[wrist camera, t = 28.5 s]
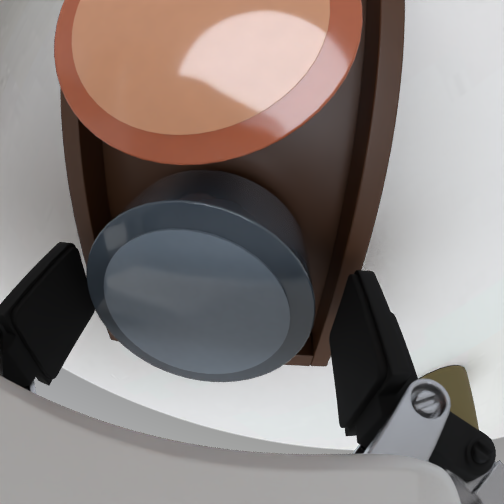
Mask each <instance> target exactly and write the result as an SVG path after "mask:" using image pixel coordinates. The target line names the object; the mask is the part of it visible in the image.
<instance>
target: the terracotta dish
mask: <svg viewBox="0 0 504 504" xmlns="http://www.w3.org/2000/svg"><path fill="white" fill-rule="evenodd" d="M362 25H363V16H362V2H361V0H64V3H63V5H62V8H61V11H60V14H59V18H58V21H57V26H56V32H55V40H54V58H55V66H56V72H57V76H58V80H59V84H60V87H61V89H62V91H63V94H64V96H65V98H66V101H67V102H68V104H69V105H70V107H71V109H72V110H73V112H74V114H75V115H76V116H77V117H78V118H79V120H80V121H81V122H82V123H83V124H84V126H85V127H87V128H88V129H89V130H90V131H91V132H92V133H93V134H94V135H95V136H97V137H98V138H99V139H101V140H102V141H104V142H105V143H107V144H108V145H110V146H112V147H114V148H116V149H118V150H120V151H122V152H124V153H126V154H128V155H131V156H134V157H137V158H140V159H143V160H147V161H152V162H157V163H162V164H173V165H203V164H210V163H217V162H224V161H227V160H231V159H235V158H239V157H243V156H246V155H248V154H251V153H254V152H256V151H259V150H261V149H264V148H266V147H268V146H270V145H272V144H274V143H276V142H278V141H280V140H282V139H284V138H285V137H287V136H288V135H290V134H291V133H293V132H294V131H296V130H297V129H299V128H300V127H302V126H303V125H304V124H306V123H307V122H308V121H309V120H310V119H311V118H313V117H314V116H315V115H316V114H317V113H318V112H320V110H321V109H322V108H323V107H324V106H325V105H326V104H327V103H328V102H329V100H330V99H331V98H332V97H333V96H334V95H335V93H336V92H337V90H338V89H339V87H340V86H341V85H342V83H343V82H344V80H345V79H346V77H347V75H348V73H349V71H350V69H351V67H352V65H353V62H354V60H355V57H356V54H357V51H358V47H359V44H360V40H361V33H362Z"/></svg>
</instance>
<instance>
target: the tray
mask: <svg viewBox="0 0 504 504" xmlns="http://www.w3.org/2000/svg"><path fill="white" fill-rule="evenodd" d="M361 2H362V16H363V25H362V33H361V40H360V44H359V47H358V51H357V54H356V57H355V60H354V62H353V65H352V67H351V69H350V71H349V73H348V75H347V77H346V79H345V80H344V82H343V83H342V85H341V86H340V87H339V89H338V90H337V92H336V93H335V95H334V96H333V97H332V98H331V99H330V100H329V102H328V103H327V104H326V105H325V106H324V107H323V108H322V109H321V110H320V112H318V113H317V114H316V115H315V116H314V117H313V118H311V119H310V120H309V121H308V122H307V123H306V124H304V125H303V126H302V127H300V128H299V129H297V130H296V131H294V132H293V133H291V134H290V135H288V136H287V137H285V138H284V139H282V140H280V141H278V142H276V143H274V144H272V145H270V146H268V147H266V148H264V149H261V150H259V151H256V152H254V153H251V154H248V155H246V156H243V157H239V158H235V159H231V160H227V161H224V162H217V163H210V164H203V165H173V164H162V163H157V162H152V161H147V160H143V159H140V158H137V157H134V156H131V155H128V154H126V153H124V152H122V151H120V150H118V149H116V148H114V147H112V146H110V145H108V144H107V143H105V142H104V141H102V140H101V139H99V138H98V137H97V136H95V135H94V134H93V133H92V132H91V131H90V130H89V129H88V128H87V127H85V126H84V124H83V123H82V122H81V121H80V120H79V118H78V117H77V116H76V115H75V114H74V112H73V110H72V109H71V107H70V105H69V104H68V102H67V101H66V98H65V96H64V94H63V91H62V89H61V119H62V133H63V145H64V154H65V163H66V170H67V177H68V184H69V190H70V196H71V201H72V207H73V212H74V217H75V222H76V226H77V231H78V235H79V239H80V244H81V248H82V252H83V255H84V259H85V263H86V266H87V262H88V257H89V253H90V250H91V248H92V245H93V243H94V241H95V239H96V238H97V236H98V234H99V233H100V232H101V231H102V229H103V228H104V227H105V226H106V225H107V224H108V223H109V222H110V221H111V220H112V219H113V218H114V217H115V216H116V215H117V214H118V213H119V212H120V211H121V210H122V209H123V208H124V207H126V206H127V205H128V204H129V203H130V202H131V201H132V200H133V199H134V198H135V197H137V196H138V195H139V194H140V193H141V192H142V191H143V190H144V189H146V188H147V187H149V186H150V185H151V184H153V183H154V182H156V181H158V180H160V179H162V178H164V177H166V176H169V175H172V174H175V173H179V172H184V171H190V170H215V171H222V172H227V173H231V174H235V175H238V176H240V177H243V178H246V179H248V180H251V181H252V182H254V183H256V184H258V185H260V186H262V187H263V188H265V189H266V190H268V191H269V192H270V193H272V194H273V195H274V196H276V197H277V198H278V199H279V200H280V201H281V202H282V203H283V204H284V205H285V206H286V207H287V209H288V210H289V211H290V212H291V214H292V215H293V216H294V218H295V219H296V221H297V223H298V225H299V227H300V228H301V231H302V233H303V236H304V238H305V242H306V246H307V251H308V257H309V263H310V269H311V275H312V282H313V288H314V295H315V319H314V325H313V327H312V330H311V333H310V335H309V337H308V339H307V341H306V342H305V344H304V346H303V347H302V348H301V349H300V351H299V352H298V353H297V354H296V355H295V356H294V357H293V358H292V359H291V360H289V361H288V362H287V363H285V364H284V365H300V366H310V365H311V366H327V363H328V361H329V359H330V356H331V351H330V344H329V336H330V331H331V329H332V326H333V323H334V320H335V317H336V314H337V311H338V308H339V305H340V301H341V298H342V295H343V292H344V289H345V285H346V282H347V279H348V276H349V275H350V274H354V272H355V271H356V270H361V269H362V266H363V262H364V259H365V256H366V252H367V249H368V245H369V242H370V238H371V235H372V231H373V227H374V223H375V220H376V216H377V212H378V208H379V203H380V199H381V195H382V191H383V186H384V181H385V177H386V172H387V167H388V162H389V157H390V152H391V146H392V140H393V134H394V128H395V122H396V115H397V108H398V100H399V92H400V83H401V73H402V61H403V47H404V23H405V0H361ZM106 328H107V327H106ZM107 331H108V333H109V336H110V338H111V340H115V341H118V340H117V339H116V338H115V337H114V336H113V335H112V334H111V332H110V331H109V330H108V329H107Z"/></svg>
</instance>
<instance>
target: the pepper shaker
mask: <svg viewBox="0 0 504 504" xmlns="http://www.w3.org/2000/svg"><path fill="white" fill-rule="evenodd" d="M423 378H424V379H431V380H434V381H436V382H438V383H439V384H441V385H442V386H443V387H444V388H445V390H446V391H447V392H448V395H449V397H450V402H451V407H450V411H451V412H452V413H454V414H455V415H457V416H458V417H460V418H461V419H463V420H464V421H466V422H467V423H469V424H470V425H472V426H473V427H475V428H476V429H478V430H479V428H478V422H477V417H476V411H475V406H474V401H473V397H472V392H471V388H470V384H469V380H468V376H467V372H466V370H465V368H464V367H461V366H448V367H445V368H441V369H438V370H436V371H434V372H431V373H429V374H427V375H425V376H424V377H422V378H420V379H423Z"/></svg>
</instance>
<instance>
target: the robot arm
mask: <svg viewBox="0 0 504 504" xmlns="http://www.w3.org/2000/svg"><path fill="white" fill-rule="evenodd" d="M94 311H95V308H94V305H93V303H92V301H91V297H90V294H89V290H88V285H87V278H86V275H85V271H84V268H83V264H82V261H81V257H80V253H79V250H78V249H77V248H76V246H75V245H74V244H72V243H65V242H59V243H58V244H57V245H56V246H55V247H54V248H53V249H52V250H51V251H50V252H49V253H47V254H46V255H45V256H44V257H43V258H42V259H41V260H40V261H39V262H38V263H37V265H36V266H35V267H34V268H33V269H32V270H31V271H30V272H29V273H28V274H27V275H26V276H25V277H24V278H23V279H22V280H21V281H20V282H19V284H18V285H17V286H16V287H15V288H14V289H13V290H12V291H11V293H10V294H9V295H8V296H7V297H6V298H5V299H4V301H3V302H2V303H1V304H0V504H504V465H503V464H502V462H501V461H500V460H499V461H497V462H495V457H496V450H495V446H494V444H493V442H492V440H491V439H490V438H489V437H488V436H487V435H486V434H484V433H483V432H481V431H479V430H478V429H476V428H475V427H473V426H472V425H470V424H469V423H467V422H466V421H464V420H463V419H461V418H460V417H458V416H457V415H455V414H454V413H452V412H451V411H450V407H451V402H450V397H449V395H448V392H447V391H446V390H445V388H444V387H443V386H442V385H441V384H439V383H438V382H436V381H434V380H431V379H424V378H423V379H418V378H417V375H416V372H415V369H414V366H413V363H412V360H411V357H410V354H409V351H408V349H407V346H406V343H405V340H404V338H403V335H402V332H401V330H400V327H399V325H398V322H397V319H396V317H395V315H394V314H393V313H391V312H390V309H389V307H388V304H387V302H386V299H385V297H384V295H383V292H382V290H381V287H380V285H379V283H378V280H377V278H376V276H375V274H374V272H372V271H362V270H356V271H355V272H354V274H350V275H349V276H348V279H347V282H346V285H345V289H344V292H343V295H342V298H341V301H340V305H339V308H338V311H337V314H336V317H335V320H334V323H333V326H332V329H331V331H330V336H329V344H330V351H331V358H332V365H333V373H334V380H335V388H336V397H337V405H338V415H339V424H340V427H341V428H345V433H346V436H355V435H357V443H359V445H358V447H357V448H356V449H355V451H354V452H353V453H352V454H278V453H261V452H247V451H238V450H229V449H221V448H213V447H207V446H200V445H195V444H189V443H184V442H179V441H174V440H169V439H164V438H161V437H156V436H152V435H148V434H144V433H140V432H136V431H133V430H129V429H126V428H123V427H119V426H116V425H113V424H109V423H107V422H104V421H100V420H98V419H95V418H92V417H89V416H87V415H84V414H81V413H79V412H76V411H73V410H71V409H69V408H66V407H64V406H61V405H59V404H56V403H54V402H52V401H50V400H47V399H45V398H43V397H41V396H39V395H37V394H36V390H35V383H34V379H35V377H36V378H37V379H38V380H39V381H40V382H42V383H44V384H47V385H50V383H51V381H52V379H54V378H56V376H57V375H58V373H59V371H60V369H61V368H62V366H63V364H64V362H65V360H66V359H67V357H68V355H69V353H70V352H71V350H72V348H73V346H74V345H75V343H76V341H77V340H78V338H79V336H80V335H81V333H82V331H83V330H84V328H85V327H86V325H87V323H88V322H89V320H90V319H91V317H92V315H93V314H94Z"/></svg>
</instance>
